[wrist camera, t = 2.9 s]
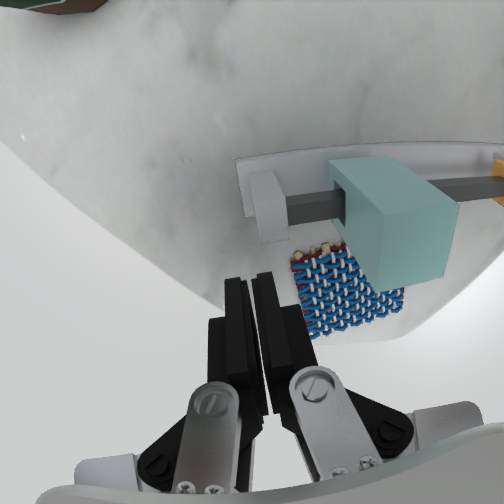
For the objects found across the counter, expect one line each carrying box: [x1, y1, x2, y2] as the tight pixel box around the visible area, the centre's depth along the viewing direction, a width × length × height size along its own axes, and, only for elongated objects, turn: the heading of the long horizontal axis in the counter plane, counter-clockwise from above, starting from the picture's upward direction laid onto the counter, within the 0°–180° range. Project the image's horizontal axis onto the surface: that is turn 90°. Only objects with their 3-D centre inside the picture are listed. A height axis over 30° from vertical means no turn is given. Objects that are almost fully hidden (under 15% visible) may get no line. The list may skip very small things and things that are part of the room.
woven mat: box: [290, 242, 404, 339], centre depth 26 cm, size 10×11×2 cm
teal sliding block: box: [328, 155, 459, 293], centre depth 15 cm, size 4×4×7 cm
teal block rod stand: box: [235, 142, 504, 244], centre depth 17 cm, size 28×4×8 cm, turn 98°
